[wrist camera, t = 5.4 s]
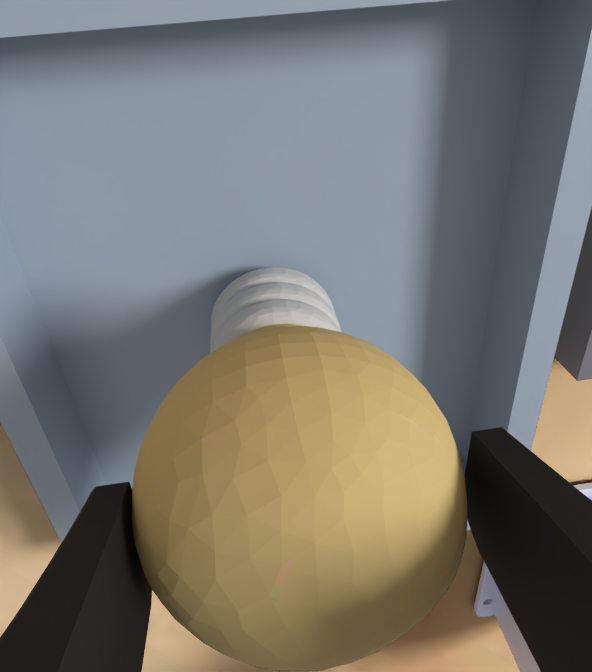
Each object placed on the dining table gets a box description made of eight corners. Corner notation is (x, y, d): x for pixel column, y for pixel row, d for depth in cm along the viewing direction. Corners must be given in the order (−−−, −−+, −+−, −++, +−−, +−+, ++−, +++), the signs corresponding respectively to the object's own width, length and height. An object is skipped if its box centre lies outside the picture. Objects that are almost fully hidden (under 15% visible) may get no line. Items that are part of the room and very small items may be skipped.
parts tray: (479, 464, 22) (512, 523, 20) (101, 520, 21) (85, 589, 19) (573, -62, 12) (663, -80, 10) (-124, -9, 11) (-223, -14, 9)
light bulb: (255, 420, 18) (282, 764, 10) (121, 302, 15) (1, 660, 7) (407, 322, 17) (585, 633, 9) (293, 167, 14) (401, 422, 5)
